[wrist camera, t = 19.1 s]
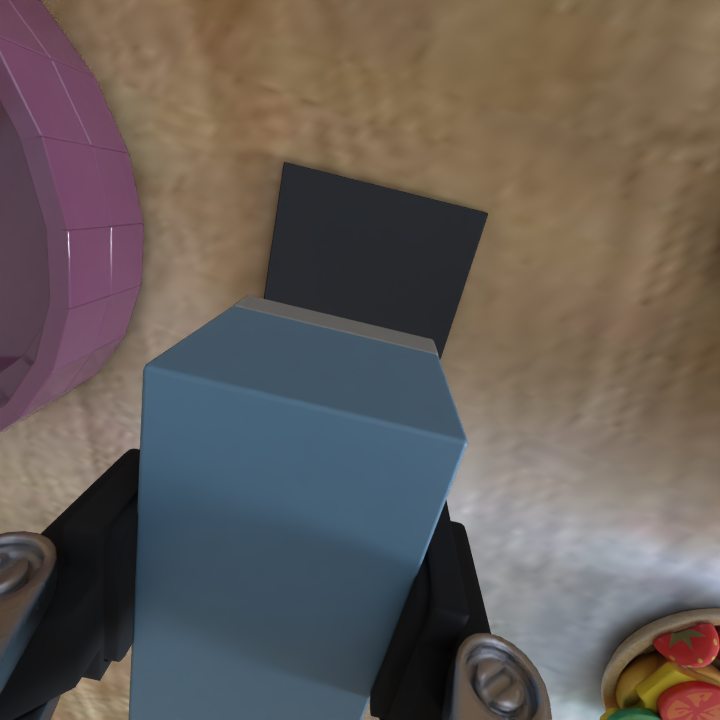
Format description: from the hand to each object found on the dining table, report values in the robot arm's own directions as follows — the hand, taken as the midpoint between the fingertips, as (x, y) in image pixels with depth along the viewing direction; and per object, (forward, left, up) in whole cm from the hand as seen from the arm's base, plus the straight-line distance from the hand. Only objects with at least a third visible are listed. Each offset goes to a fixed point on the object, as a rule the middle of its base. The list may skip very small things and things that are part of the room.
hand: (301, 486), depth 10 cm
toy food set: (+1, +32, -12) cm, 34 cm away
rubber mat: (0, 0, -12) cm, 12 cm away
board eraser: (0, 0, -1) cm, 1 cm away
